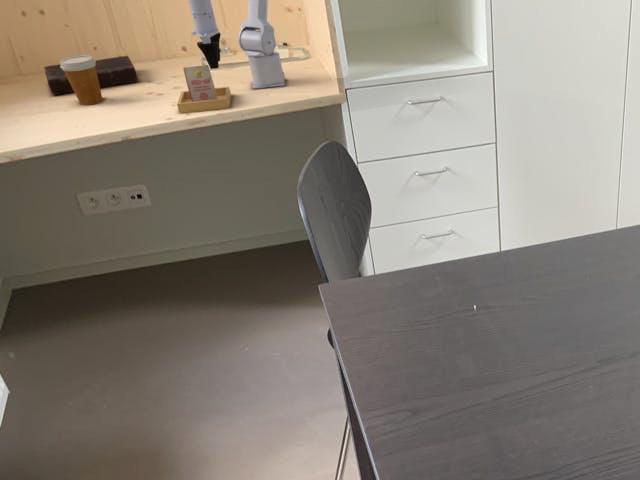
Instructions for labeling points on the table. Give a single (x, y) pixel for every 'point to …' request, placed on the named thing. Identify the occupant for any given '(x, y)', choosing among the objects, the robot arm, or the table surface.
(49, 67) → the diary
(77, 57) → the disposable coffee cup
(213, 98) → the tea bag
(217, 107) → the tray
